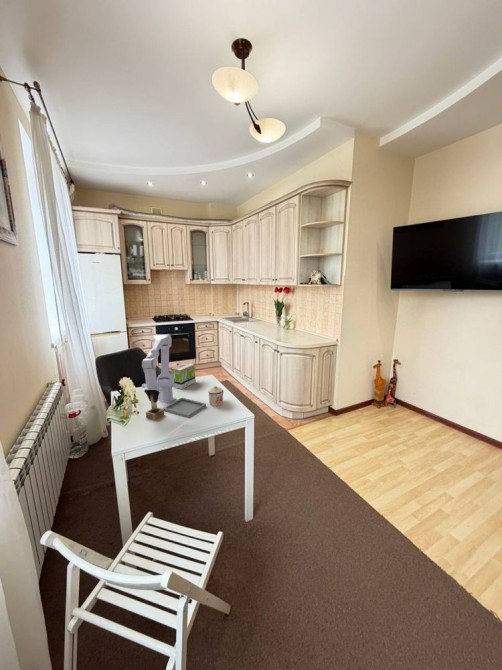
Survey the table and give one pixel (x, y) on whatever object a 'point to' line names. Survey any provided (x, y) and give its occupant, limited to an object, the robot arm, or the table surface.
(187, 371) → the tea box
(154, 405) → the dowel
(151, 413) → the wooden roll holder
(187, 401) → the tray
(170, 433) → the table surface
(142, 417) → the table surface
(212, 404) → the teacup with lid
